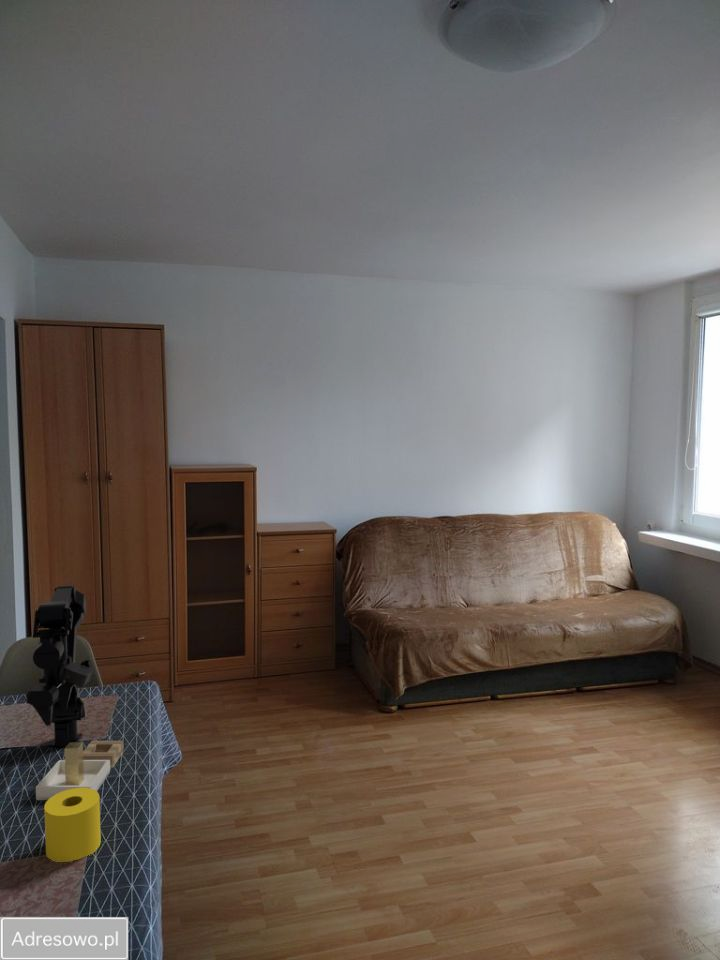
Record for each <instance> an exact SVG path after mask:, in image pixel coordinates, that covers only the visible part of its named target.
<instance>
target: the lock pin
mask: <svg viewBox="0 0 720 960" xmlns="http://www.w3.org/2000/svg"><path fill="white" fill-rule="evenodd" d="M83 751H84V742H82V741H78V742H70V743H69V744H68V745H67V746H66V747H64V760H65V777H66V786H70V785H80V784H81V783H82V781H83V780H84V764H83Z"/></svg>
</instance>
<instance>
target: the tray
mask: <svg viewBox="0 0 720 960" xmlns="http://www.w3.org/2000/svg"><path fill="white" fill-rule="evenodd" d="M83 764H84V780H83V781H82V783H81V784H80V785H70V786H66V777H65V759H59V760H58V761H56V763H54V765H53V767H51V769H50V770H49V771H48V772H47V773H46V775H45V776H44V777H43V778H42V779H41V780H40V781H39V782H38V784H37V785H36V786H35V800H36V801H48V800H49V799H50V798H51V797H52V796H54V795H56V794H58V793H60V792H63V791H65V790H69V789H74V788H90V789H93V790H95V791H97V792H98V790H99V789H100V788H101V786H102V785H103V783H104V782H105V780H106V779H107V778H108V776H109V775H110V773H111V768H110V760H83Z"/></svg>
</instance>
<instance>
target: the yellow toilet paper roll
mask: <svg viewBox="0 0 720 960" xmlns="http://www.w3.org/2000/svg"><path fill="white" fill-rule="evenodd" d="M100 801H101V799H100V794H99V792H98V791H95V790H93V789H90V788H74V789H69V790H65V791H63V792H60V793H58V794H56V795H54V796H52V797H51V798H50V799H49V800H46V801H45V804H44V831H45V832H44V834H45V855H46V858H47V857H48V858H49V859H51V860H53V861H59V862H66V861H73V860H77V859H80V858H82V857H85V856H88V855H89V856H91V855H93V854H94V853H96V851H97V850H98V849H99V848H100V845H101V842H102V841H101V839H102V838H101V805H100V804H101V803H100ZM90 854H91V855H90ZM89 856H88V857H89ZM48 858H47V859H48ZM49 859H48V860H49ZM51 860H50V861H51ZM53 861H52V862H53Z"/></svg>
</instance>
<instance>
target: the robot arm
mask: <svg viewBox="0 0 720 960" xmlns="http://www.w3.org/2000/svg"><path fill="white" fill-rule="evenodd" d="M53 591H54V592H53V594H52V596H51V598H50V600H49V601H47V602H42V603H41V604H40V605H39V606H38V608H37V609H35V611H34V622H33V630H32V639H35V638H36V639H38V638H39V644H38V646H37V647H36V648H35V650H34V652H33V654H32V660H33V664H35V666H36V667H37V668H39V669H41V673H42V675H41V677H40V678H39V679H38V683H39V684H44V685H35V686H34V687H33V688H31V689H30V690H29V691H28V692H27V693H26V694H25V703H26V705H27V704H29V705H30V706H32V707H33V708H34V710H35V711H36V712H37V714H38V715H39V717H40V718H41V720H42V721H43V723H44V725H45V726H49V727H50V726H51V725H52V724H53V739H52V740H51V742H50V743H49V744H48V746H49V747H51V748H52V747H53V748H54V747H58V748H59V747H64V748H65V747H66V746H67V745H68V744H69V743H70V742H80V740H81V739H82V737H83V736H84V734H83V733H79V732H78V728H79V727H78V721H82V719H84V718H86V708H85V703H84V702H83V699H82V697H81V696H80V692H79V689H78V688H77V687H79V688H83V687H85V686H86V684H87V683H89V682H90V678H91V677H92V674H93V673H94V667H93V663H92V660H91V659H88V658H85V659H84V660H83V661H82V662H81V663H80V662H78V661H77V663H76V649H77V648H76V647H77V633H78V632H77V630H78V628H79V627H80V626H81V624H82V623H83V622H84V615H85V614H86V613H87V601H86V597H85V596H86V595H85V594H83V593H82V592H80V591H79V590H77V587H76V586H75V585H74V586H73V585H59V586H56V587H54V590H53Z"/></svg>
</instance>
